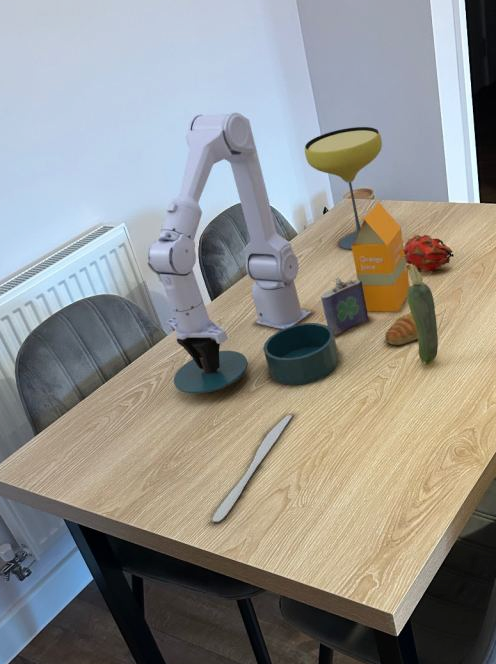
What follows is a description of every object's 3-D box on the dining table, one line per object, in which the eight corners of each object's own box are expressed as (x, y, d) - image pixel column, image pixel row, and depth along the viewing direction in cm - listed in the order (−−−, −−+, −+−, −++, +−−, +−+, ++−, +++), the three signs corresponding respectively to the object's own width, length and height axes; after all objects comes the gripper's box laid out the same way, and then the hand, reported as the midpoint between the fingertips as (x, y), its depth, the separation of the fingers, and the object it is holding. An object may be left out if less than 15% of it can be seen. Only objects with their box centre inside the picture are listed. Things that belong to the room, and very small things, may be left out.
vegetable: (445, 359, 137) (431, 256, 125) (439, 372, 134) (424, 268, 122) (421, 359, 138) (405, 257, 127) (415, 372, 135) (398, 269, 124)
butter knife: (204, 518, 112) (220, 520, 111) (281, 414, 132) (296, 414, 131) (205, 521, 113) (222, 523, 111) (282, 417, 132) (296, 417, 131)
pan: (256, 376, 145) (249, 351, 142) (302, 342, 152) (295, 318, 149) (307, 391, 137) (300, 365, 134) (353, 354, 144) (347, 329, 141)
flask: (333, 338, 151) (322, 290, 145) (326, 334, 153) (314, 286, 147) (371, 321, 154) (362, 272, 148) (364, 316, 156) (354, 268, 150)
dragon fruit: (404, 272, 174) (453, 282, 169) (390, 265, 166) (441, 275, 161) (414, 235, 172) (463, 244, 168) (400, 226, 165) (451, 236, 160)
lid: (160, 386, 145) (152, 366, 142) (214, 349, 153) (207, 330, 150) (209, 403, 136) (202, 382, 133) (264, 363, 144) (257, 343, 142)
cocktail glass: (311, 248, 192) (288, 149, 177) (361, 221, 200) (343, 124, 186) (360, 261, 180) (339, 155, 165) (411, 231, 188) (396, 128, 174)
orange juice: (363, 311, 158) (345, 220, 147) (377, 291, 165) (361, 202, 153) (398, 311, 155) (382, 218, 144) (411, 291, 161) (397, 200, 150)
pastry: (401, 351, 142) (397, 333, 140) (377, 342, 147) (374, 324, 145) (436, 329, 146) (434, 312, 144) (412, 321, 151) (410, 304, 149)
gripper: (145, 308, 138) (170, 370, 146) (197, 320, 129) (219, 386, 137) (174, 290, 142) (196, 352, 150) (226, 302, 133) (246, 367, 141)
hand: (209, 367), depth 143 cm, fingers closed on lid, 2 cm apart
